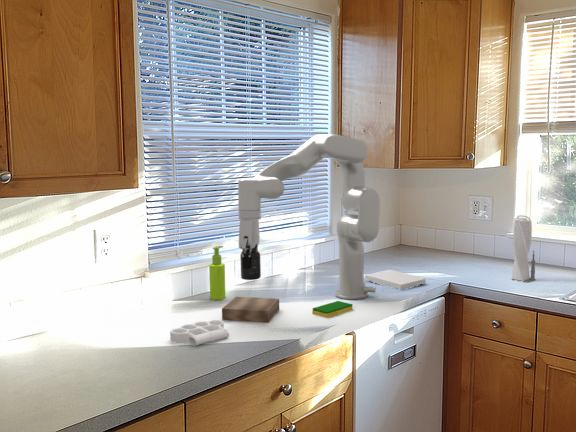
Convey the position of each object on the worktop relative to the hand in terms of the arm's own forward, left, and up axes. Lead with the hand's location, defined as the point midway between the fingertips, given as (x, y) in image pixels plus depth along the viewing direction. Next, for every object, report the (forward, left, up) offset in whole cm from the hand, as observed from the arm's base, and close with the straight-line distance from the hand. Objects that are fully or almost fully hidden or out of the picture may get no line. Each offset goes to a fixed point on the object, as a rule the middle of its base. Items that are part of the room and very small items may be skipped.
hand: (250, 265), depth 206 cm
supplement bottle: (0, 0, -4) cm, 4 cm away
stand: (0, 0, -17) cm, 17 cm away
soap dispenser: (+19, -20, -17) cm, 33 cm away
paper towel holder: (-99, -71, -17) cm, 123 cm away
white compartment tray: (+9, +26, -18) cm, 33 cm away
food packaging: (-47, -56, -18) cm, 75 cm away
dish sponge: (-27, -9, -18) cm, 34 cm away
